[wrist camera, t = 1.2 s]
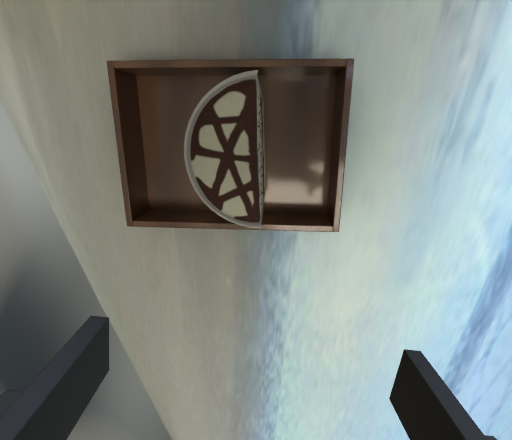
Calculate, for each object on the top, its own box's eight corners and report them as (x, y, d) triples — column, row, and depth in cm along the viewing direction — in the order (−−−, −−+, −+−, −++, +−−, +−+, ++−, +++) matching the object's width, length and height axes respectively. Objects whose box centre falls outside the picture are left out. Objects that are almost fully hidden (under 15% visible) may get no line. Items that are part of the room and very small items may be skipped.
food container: (201, 85, 31) (168, 68, 22) (263, 83, 31) (256, 64, 21) (211, 204, 35) (185, 234, 25) (265, 203, 35) (260, 234, 25)
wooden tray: (342, 68, 30) (354, 58, 26) (331, 217, 35) (339, 232, 30) (131, 69, 32) (106, 60, 27) (146, 213, 36) (126, 226, 32)
